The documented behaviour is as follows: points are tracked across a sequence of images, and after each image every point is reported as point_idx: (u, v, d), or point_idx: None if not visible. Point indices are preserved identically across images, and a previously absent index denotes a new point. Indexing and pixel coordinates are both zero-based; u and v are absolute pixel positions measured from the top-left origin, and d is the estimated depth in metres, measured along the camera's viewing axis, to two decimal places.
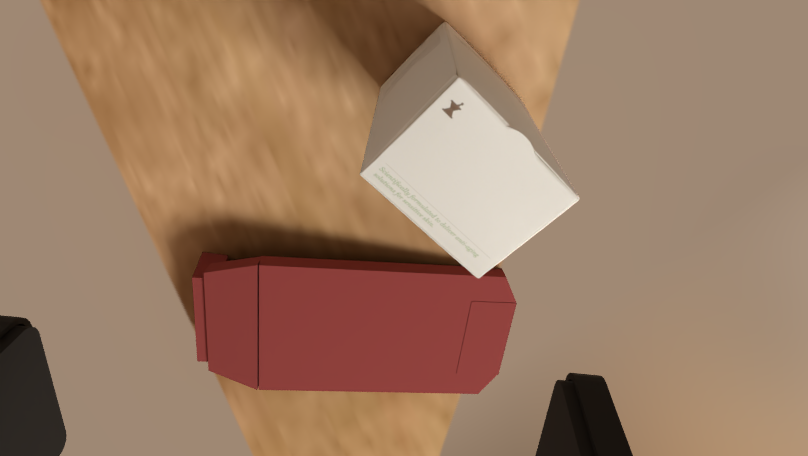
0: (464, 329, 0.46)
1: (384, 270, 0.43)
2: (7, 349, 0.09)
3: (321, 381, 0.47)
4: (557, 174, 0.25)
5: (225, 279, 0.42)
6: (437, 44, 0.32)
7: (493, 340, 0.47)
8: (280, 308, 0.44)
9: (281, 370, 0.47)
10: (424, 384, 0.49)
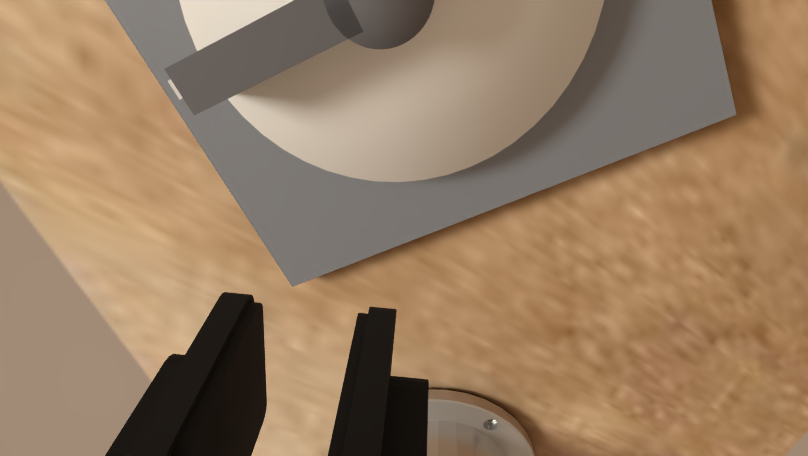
0: None
1: None
2: (250, 321, 0.10)
3: None
4: None
5: None
6: None
7: None
8: None
9: None
10: None
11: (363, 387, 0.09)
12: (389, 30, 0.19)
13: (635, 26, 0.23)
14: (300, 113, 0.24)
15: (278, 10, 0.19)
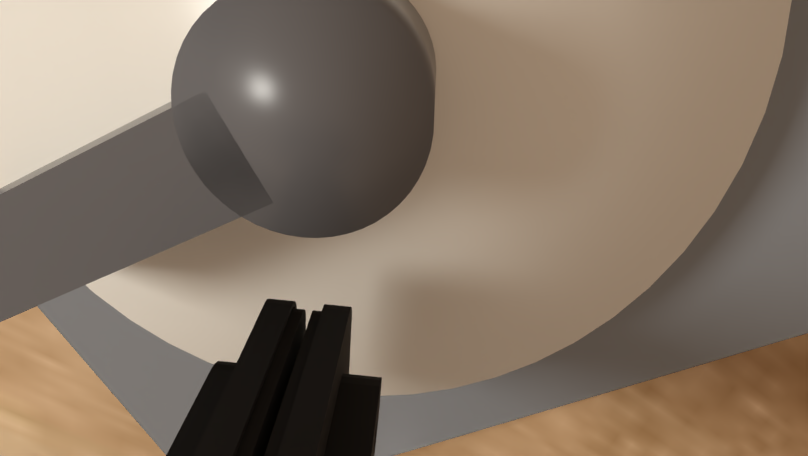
0: None
1: None
2: (296, 328, 0.10)
3: None
4: None
5: None
6: None
7: None
8: None
9: None
10: None
11: (308, 384, 0.09)
12: (332, 202, 0.08)
13: (800, 143, 0.13)
14: (194, 289, 0.13)
15: (80, 158, 0.08)
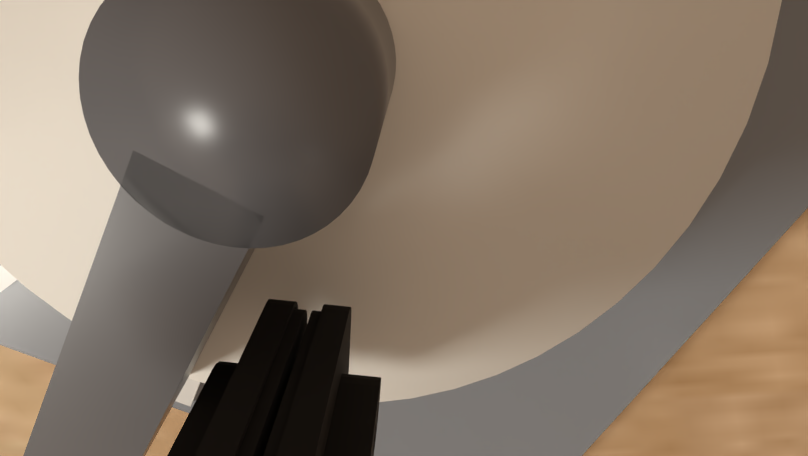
0: None
1: None
2: (298, 329, 0.10)
3: None
4: None
5: None
6: None
7: None
8: None
9: None
10: None
11: (307, 384, 0.09)
12: (314, 180, 0.07)
13: None
14: None
15: (90, 279, 0.08)
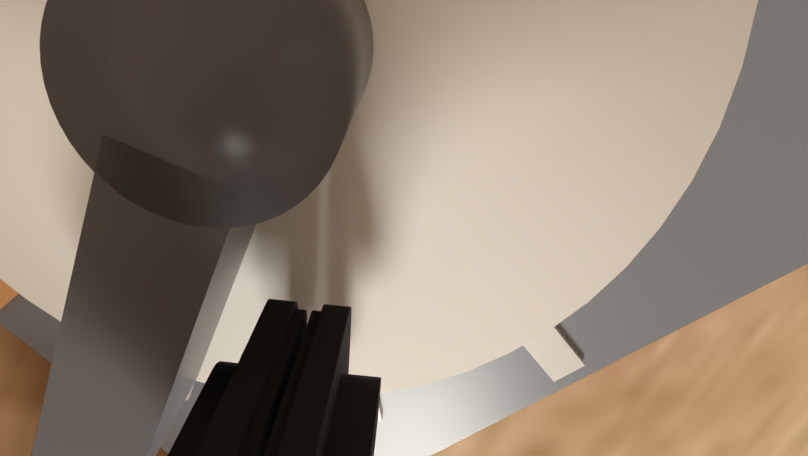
0: None
1: None
2: (298, 329, 0.10)
3: None
4: None
5: None
6: None
7: None
8: None
9: None
10: None
11: (307, 384, 0.09)
12: (288, 150, 0.07)
13: None
14: None
15: (75, 274, 0.08)
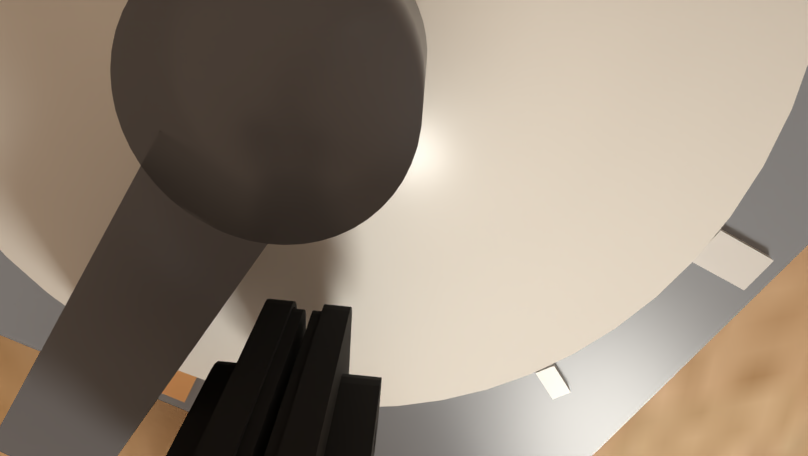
0: None
1: None
2: (297, 328, 0.10)
3: None
4: None
5: None
6: None
7: None
8: None
9: None
10: None
11: (308, 384, 0.09)
12: (346, 182, 0.07)
13: None
14: None
15: (94, 260, 0.08)
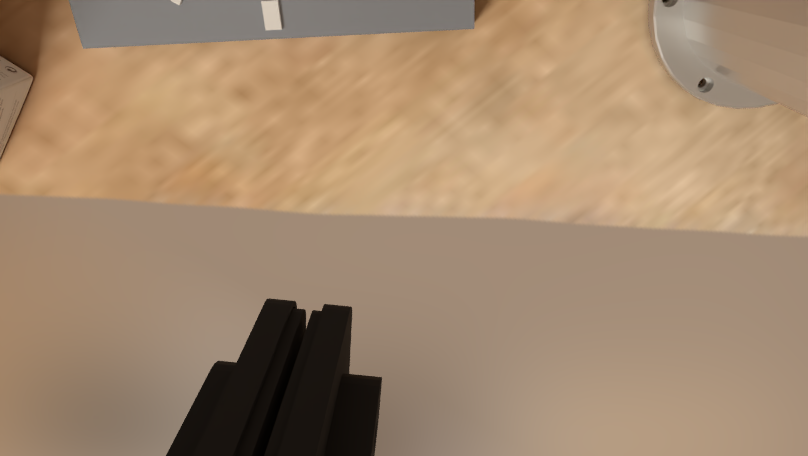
0: None
1: None
2: (296, 328, 0.10)
3: None
4: None
5: None
6: None
7: None
8: None
9: None
10: None
11: (308, 384, 0.09)
12: None
13: None
14: None
15: None
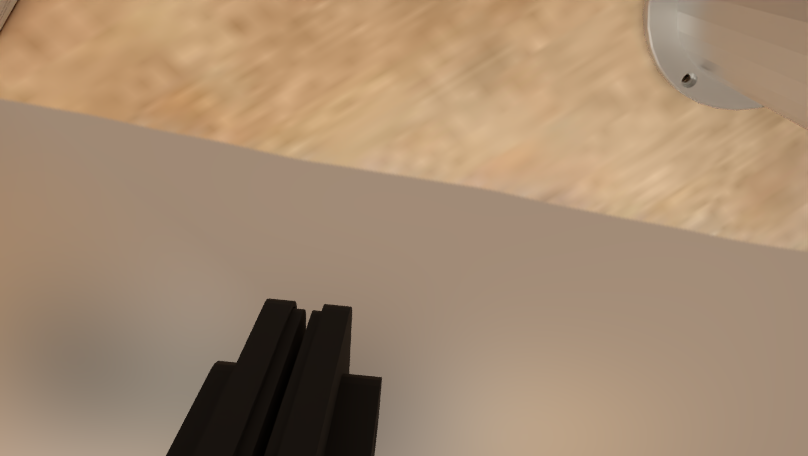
0: None
1: None
2: (297, 328, 0.10)
3: None
4: None
5: None
6: None
7: None
8: None
9: None
10: None
11: (308, 384, 0.09)
12: None
13: None
14: None
15: None
